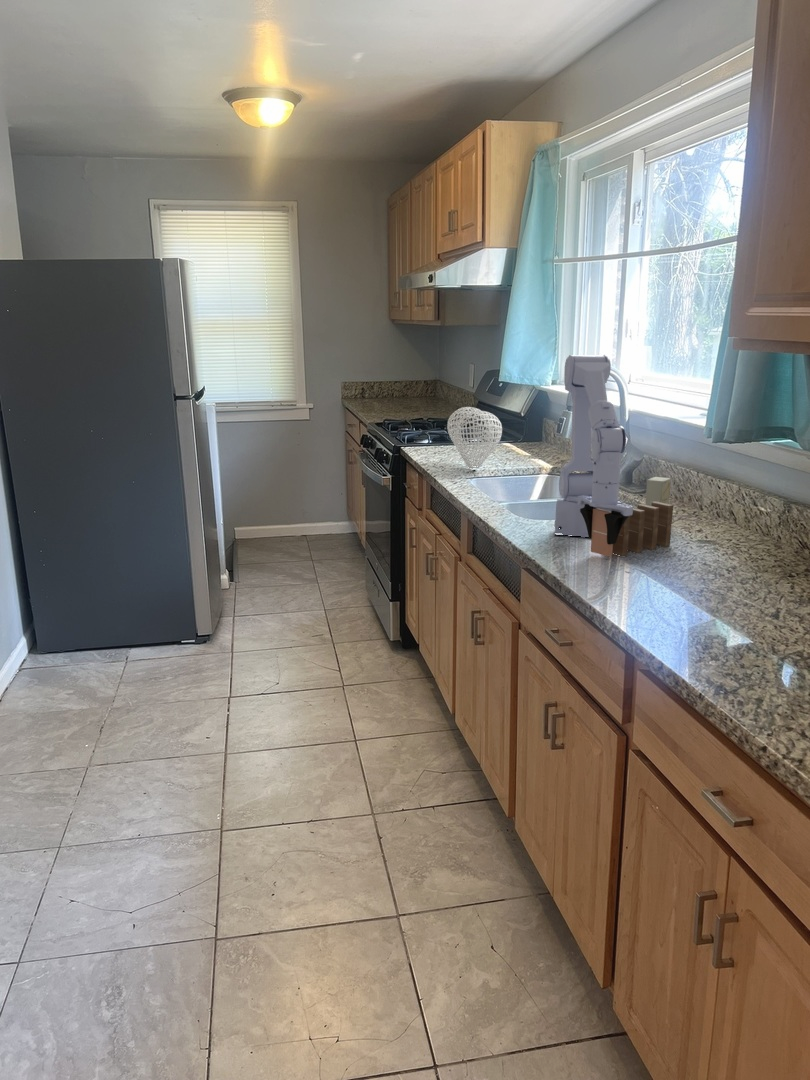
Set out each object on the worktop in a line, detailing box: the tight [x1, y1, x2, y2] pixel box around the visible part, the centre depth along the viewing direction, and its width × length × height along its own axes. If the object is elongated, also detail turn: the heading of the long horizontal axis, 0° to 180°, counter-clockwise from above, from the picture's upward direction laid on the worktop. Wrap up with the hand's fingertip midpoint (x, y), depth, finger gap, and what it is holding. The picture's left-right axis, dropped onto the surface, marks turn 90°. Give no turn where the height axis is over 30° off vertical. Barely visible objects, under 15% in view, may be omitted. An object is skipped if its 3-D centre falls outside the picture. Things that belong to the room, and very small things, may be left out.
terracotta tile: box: [590, 508, 613, 557], centre depth 179 cm, size 2×5×10 cm, turn 34°
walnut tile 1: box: [651, 501, 674, 548], centre depth 190 cm, size 2×5×10 cm, turn 34°
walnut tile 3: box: [627, 507, 645, 554], centre depth 185 cm, size 2×5×10 cm, turn 34°
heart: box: [446, 406, 503, 469], centre depth 284 cm, size 28×16×22 cm, turn 12°
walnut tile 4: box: [612, 516, 630, 557], centre depth 182 cm, size 2×5×10 cm, turn 34°
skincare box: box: [645, 476, 672, 506], centre depth 209 cm, size 6×4×12 cm
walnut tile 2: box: [636, 503, 659, 551], centre depth 188 cm, size 2×5×10 cm, turn 34°
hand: (602, 540), depth 180 cm, fingers closed on terracotta tile, 5 cm apart
